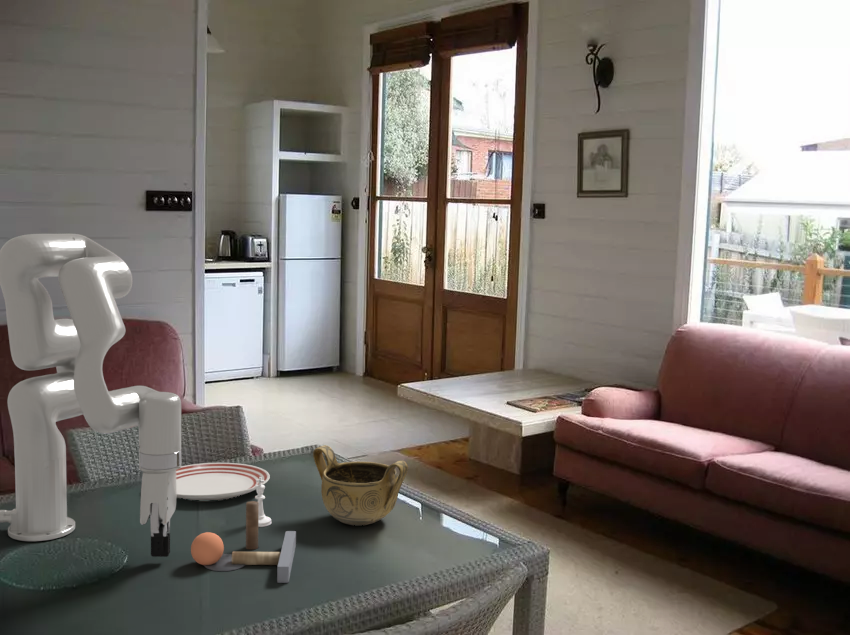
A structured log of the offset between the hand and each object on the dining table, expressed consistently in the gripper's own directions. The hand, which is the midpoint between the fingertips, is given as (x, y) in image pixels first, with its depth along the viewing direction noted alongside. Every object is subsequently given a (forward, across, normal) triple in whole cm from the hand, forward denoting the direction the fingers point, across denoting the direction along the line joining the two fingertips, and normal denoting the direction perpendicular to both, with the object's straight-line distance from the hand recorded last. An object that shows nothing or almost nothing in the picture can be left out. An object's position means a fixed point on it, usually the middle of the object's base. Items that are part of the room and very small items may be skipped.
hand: (160, 554), depth 173 cm
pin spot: (+2, 0, +12) cm, 12 cm away
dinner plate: (+2, -45, +2) cm, 45 cm away
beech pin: (0, 0, +13) cm, 13 cm away
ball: (-2, +1, +9) cm, 9 cm away
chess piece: (+2, -22, +16) cm, 27 cm away
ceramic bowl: (+2, -24, +37) cm, 44 cm away
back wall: (+2, 0, +24) cm, 24 cm away
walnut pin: (+2, -8, +16) cm, 18 cm away
